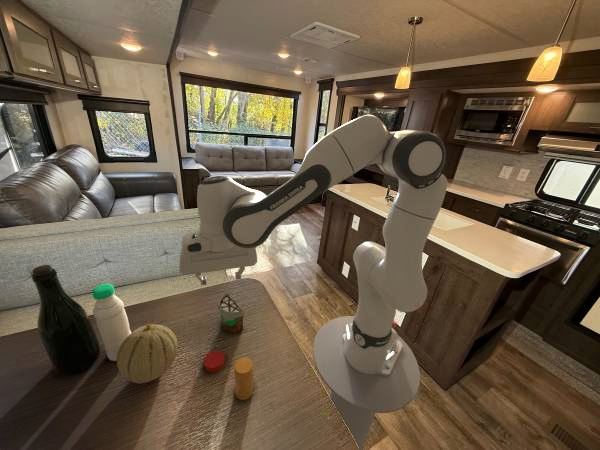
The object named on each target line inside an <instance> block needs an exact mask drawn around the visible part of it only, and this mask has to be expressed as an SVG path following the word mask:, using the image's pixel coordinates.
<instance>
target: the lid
mask: <svg viewBox="0 0 600 450" xmlns="http://www.w3.org/2000/svg"><path fill="white" fill-rule="evenodd" d="M225 360H226V357H225V354H224V353H223V351H221V350H213V351H210V352H209V353H207V354H206V355H205V357H204V359H203V366H204V369H205V370H206V371H207V372H210V373H214V372H215V373H216V372H218V371H219V370H221V369H222V368H223V367H224V365H225V362H226V361H225Z"/></svg>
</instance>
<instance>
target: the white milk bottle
mask: <svg viewBox="0 0 600 450" xmlns="http://www.w3.org/2000/svg"><path fill="white" fill-rule="evenodd" d="M115 293H116V292H115V287H114V285H113V284H111V283H102V284H99V285H97V286H95V287H94V288H93V289H92V291H91V295H92V297H93V299H94V300H95V303H94V306H93V309H92V315H93V317H94V319H95V323H96V326H97V330H98V333H99V335H100V338H101V340H102V344H103V347H104V349H105V353H106V356H107V359H108V360H110V361H112V362H117V359H116V358H117V353H118V350H119V347H120V346H121V344H122V342H123V341H124V340H125V339H126V337H128V336H129V335H130V334H131V333H132V331H131V329H130V322H129V318H128V315H127V312H126V309H125V304H124V301H123V300H122V299H121V298H119V297H118V296H117V295H116V294H115Z"/></svg>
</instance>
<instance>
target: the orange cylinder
mask: <svg viewBox="0 0 600 450" xmlns="http://www.w3.org/2000/svg"><path fill="white" fill-rule="evenodd" d="M253 363H254V362H253V360H252V359H251V358H249V357H245V356H244V357H241V358H239V359H238V360H236V362H235V364H234V370H233V373H234V389H235V390H234V393H235V394H234V395H235V396H236V398H237V399H238V400H240V401H246V400H248V399H249V398H251V397H252V396H253V394H254V364H253Z"/></svg>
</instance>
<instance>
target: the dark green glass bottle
mask: <svg viewBox="0 0 600 450" xmlns="http://www.w3.org/2000/svg"><path fill="white" fill-rule="evenodd" d="M31 272H32V274H31V281H32V282H33V284H34V285H35V288H36V291H37V293H38V297H39V312H38V317H37V322H36V323H37V324H36V325H37V331H38V334H39V337H40V340H41V343H42V345H43V347H44V350H45V352H46V355H47V357H48V360H49V362H50V363H51V365H52V367H53V370H54V371H55V372H56V374H57V375H59V376H67V377H68V376H73V375H77V374H79V373H81V372H83V371H85V370H87V369H88V368H90V367H91V366H92V365H94V364H95V363H96V361H97V360H98V359H99V357H100V355H101V352H102V348H101V346H100V343H99V339H98V337H97V334H96V332H95V329H94V327H93V325H92V324H93V323H92V322H91V319H90V317H89V315H88V313H87V311H86V309H85V308H84V307H83V305H81V304H80V303H79V302H77V301H76V300H75V299H74V298H72V297H71V296H70V295H69V294H68V293H67V291H66V290H65V289H64V287H63V285H62V283H61V281H60V279H59V276H58V272H57V270H56V269H55V268H53V267H52V266H51V264H43V265H38V266H36V267H34V268H33V269H32V270H31Z"/></svg>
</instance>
